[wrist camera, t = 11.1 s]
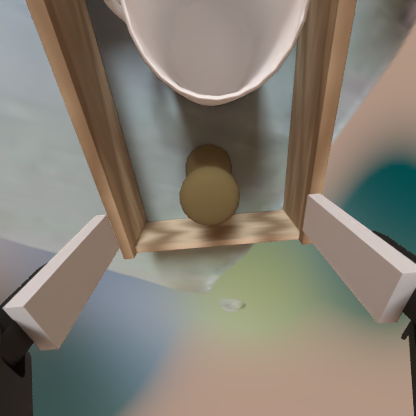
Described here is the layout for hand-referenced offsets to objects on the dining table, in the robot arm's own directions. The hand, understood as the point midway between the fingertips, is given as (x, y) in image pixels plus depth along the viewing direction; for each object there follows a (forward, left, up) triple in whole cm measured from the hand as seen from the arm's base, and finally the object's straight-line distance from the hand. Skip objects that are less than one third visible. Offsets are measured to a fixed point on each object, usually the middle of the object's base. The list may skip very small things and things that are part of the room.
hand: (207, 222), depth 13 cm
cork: (0, 0, -14) cm, 14 cm away
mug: (0, +12, -14) cm, 18 cm away
